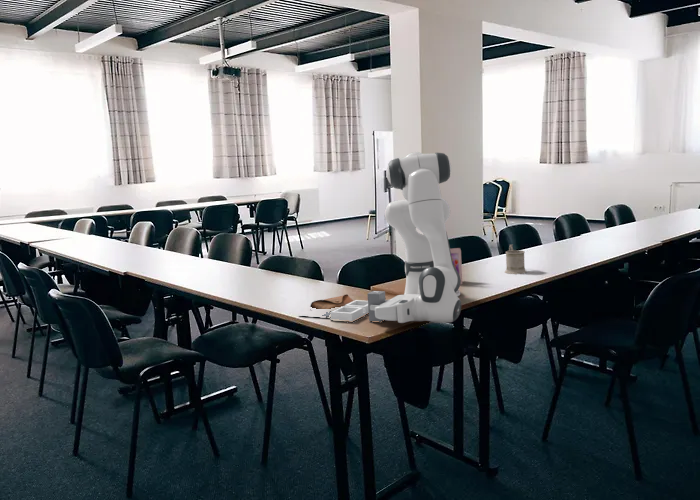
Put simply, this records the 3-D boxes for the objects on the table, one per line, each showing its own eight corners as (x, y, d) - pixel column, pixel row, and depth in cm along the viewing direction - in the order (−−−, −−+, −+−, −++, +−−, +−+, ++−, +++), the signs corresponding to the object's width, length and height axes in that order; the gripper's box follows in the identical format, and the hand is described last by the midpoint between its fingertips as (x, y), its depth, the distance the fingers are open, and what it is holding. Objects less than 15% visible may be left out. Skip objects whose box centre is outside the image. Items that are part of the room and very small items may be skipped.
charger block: (375, 318, 198) (373, 290, 197) (386, 319, 196) (385, 290, 194) (369, 322, 194) (367, 293, 193) (381, 323, 192) (379, 293, 191)
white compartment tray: (358, 306, 217) (357, 298, 217) (379, 308, 213) (378, 299, 212) (330, 321, 199) (329, 312, 199) (352, 322, 195) (352, 313, 194)
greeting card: (436, 283, 250) (434, 250, 248) (441, 280, 257) (439, 247, 255) (461, 284, 245) (460, 250, 243) (466, 281, 252) (464, 247, 250)
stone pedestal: (529, 273, 260) (528, 247, 258) (507, 274, 260) (506, 248, 258) (520, 268, 274) (519, 243, 272) (500, 269, 274) (499, 244, 273)
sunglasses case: (322, 313, 210) (316, 297, 212) (314, 320, 215) (308, 304, 217) (360, 304, 220) (354, 289, 222) (352, 311, 226) (346, 296, 228)
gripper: (423, 291, 196) (387, 289, 203) (399, 305, 179) (360, 302, 186) (424, 309, 197) (388, 306, 204) (400, 324, 180) (361, 321, 186)
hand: (374, 305), depth 195 cm, fingers closed on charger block, 4 cm apart
